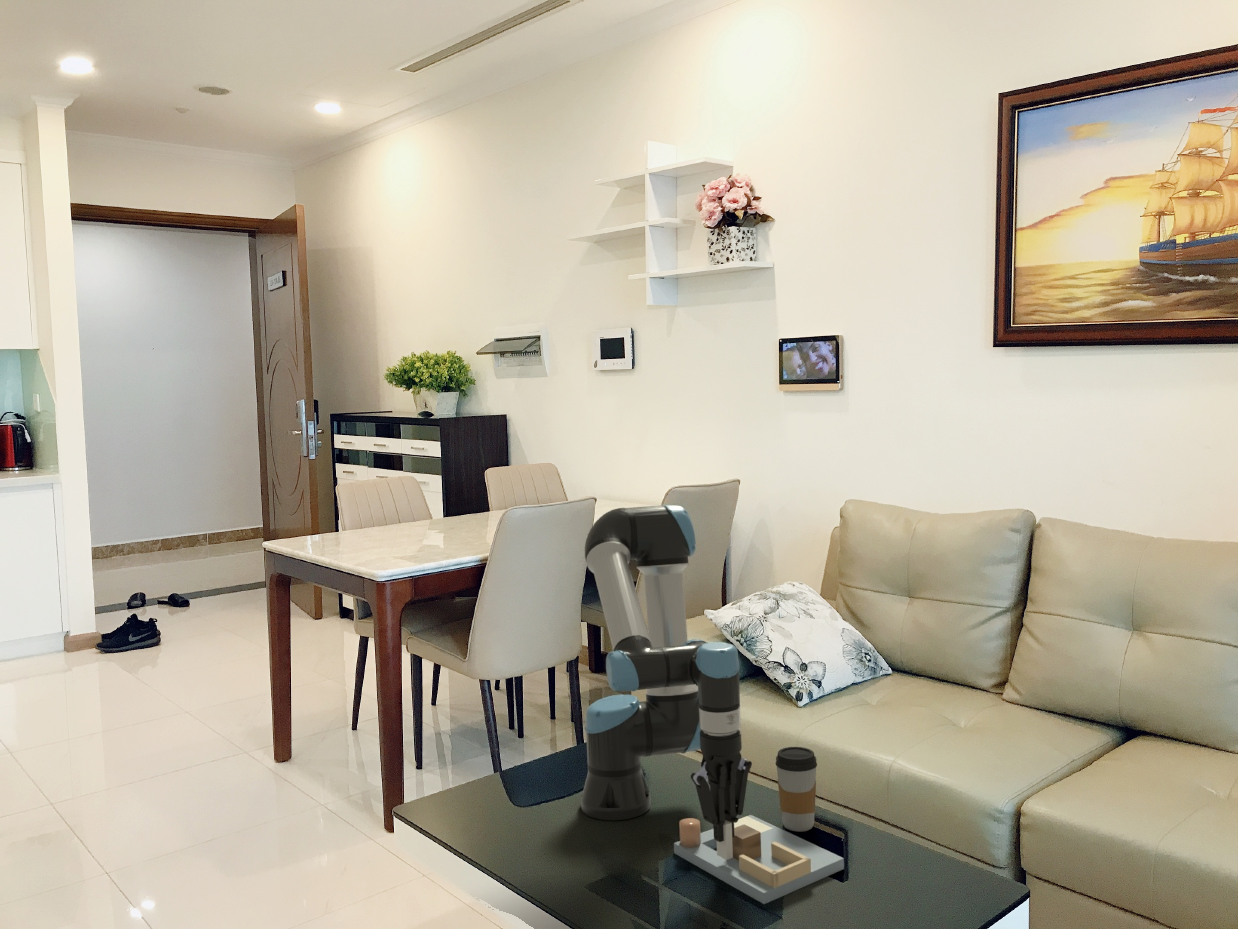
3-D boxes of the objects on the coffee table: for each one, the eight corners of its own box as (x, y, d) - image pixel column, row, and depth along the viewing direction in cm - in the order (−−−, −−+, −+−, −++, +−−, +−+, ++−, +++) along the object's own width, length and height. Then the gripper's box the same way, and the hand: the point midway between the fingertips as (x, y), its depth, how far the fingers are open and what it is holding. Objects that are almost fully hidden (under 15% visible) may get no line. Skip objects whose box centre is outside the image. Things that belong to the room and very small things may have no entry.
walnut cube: (727, 854, 181) (726, 831, 180) (744, 847, 183) (744, 824, 183) (743, 863, 177) (742, 839, 177) (761, 855, 179) (760, 832, 179)
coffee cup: (819, 835, 191) (816, 761, 191) (776, 833, 193) (774, 759, 192) (819, 817, 200) (816, 746, 199) (778, 815, 201) (775, 745, 200)
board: (674, 853, 186) (673, 830, 186) (751, 824, 198) (750, 802, 197) (764, 904, 166) (763, 878, 166) (844, 869, 177) (843, 845, 177)
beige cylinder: (675, 842, 186) (675, 822, 186) (691, 836, 189) (691, 816, 189) (688, 849, 183) (688, 829, 183) (705, 843, 185) (704, 823, 185)
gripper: (705, 743, 168) (710, 874, 170) (760, 726, 176) (765, 853, 177) (679, 732, 175) (684, 859, 176) (733, 717, 182) (738, 839, 183)
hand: (724, 856), depth 176 cm, fingers closed
